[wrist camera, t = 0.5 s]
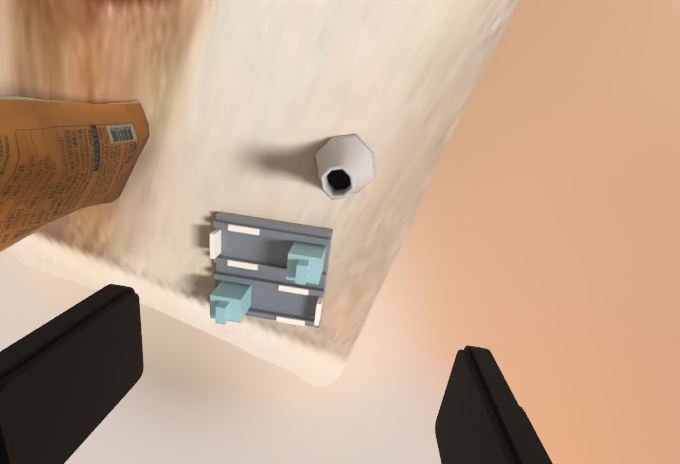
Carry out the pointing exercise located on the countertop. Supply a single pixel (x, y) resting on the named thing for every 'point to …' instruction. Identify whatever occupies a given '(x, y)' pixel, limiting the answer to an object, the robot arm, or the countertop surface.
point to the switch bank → (268, 265)
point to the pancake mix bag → (62, 159)
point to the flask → (344, 166)
